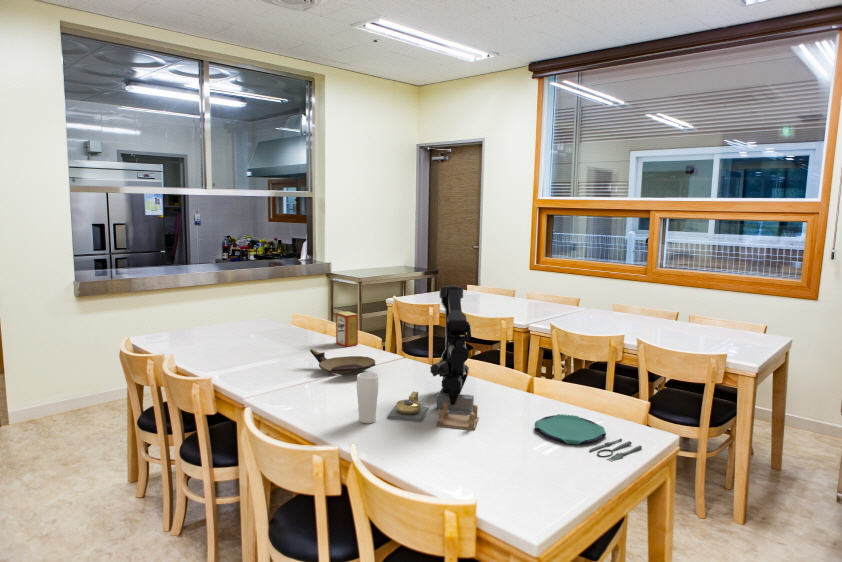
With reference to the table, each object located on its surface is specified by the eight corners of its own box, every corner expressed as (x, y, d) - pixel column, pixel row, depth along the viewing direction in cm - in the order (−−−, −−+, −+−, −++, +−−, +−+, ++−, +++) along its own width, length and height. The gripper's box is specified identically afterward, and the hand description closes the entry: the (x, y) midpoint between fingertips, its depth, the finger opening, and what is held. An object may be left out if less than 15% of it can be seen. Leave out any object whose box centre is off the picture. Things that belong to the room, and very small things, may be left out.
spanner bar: (436, 409, 187) (436, 395, 187) (438, 406, 191) (439, 392, 190) (471, 413, 185) (472, 399, 184) (473, 409, 188) (473, 395, 187)
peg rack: (442, 415, 182) (442, 401, 181) (478, 419, 179) (479, 405, 178) (436, 425, 173) (437, 411, 172) (474, 430, 170) (475, 415, 170)
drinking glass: (358, 426, 172) (358, 379, 170) (355, 418, 178) (355, 372, 176) (380, 424, 174) (380, 377, 172) (375, 416, 180) (376, 371, 178)
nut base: (397, 406, 189) (397, 403, 189) (428, 409, 187) (428, 407, 187) (387, 418, 179) (387, 415, 178) (420, 421, 176) (421, 418, 176)
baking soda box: (357, 345, 273) (357, 313, 271) (346, 347, 269) (346, 315, 267) (347, 341, 280) (347, 310, 278) (336, 343, 276) (336, 312, 274)
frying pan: (341, 385, 211) (341, 366, 210) (301, 368, 233) (301, 350, 232) (387, 374, 226) (387, 356, 225) (345, 359, 248) (345, 342, 247)
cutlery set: (566, 416, 184) (566, 409, 183) (647, 450, 159) (648, 443, 159) (522, 429, 173) (523, 422, 172) (603, 468, 148) (603, 460, 148)
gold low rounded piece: (404, 399, 193) (404, 390, 192) (426, 401, 191) (427, 392, 190) (393, 413, 180) (393, 403, 179) (417, 415, 178) (417, 406, 177)
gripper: (438, 347, 196) (437, 389, 198) (426, 360, 178) (425, 407, 180) (469, 349, 194) (468, 392, 196) (460, 363, 176) (459, 410, 178)
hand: (455, 400), depth 187 cm, fingers open, 9 cm apart
